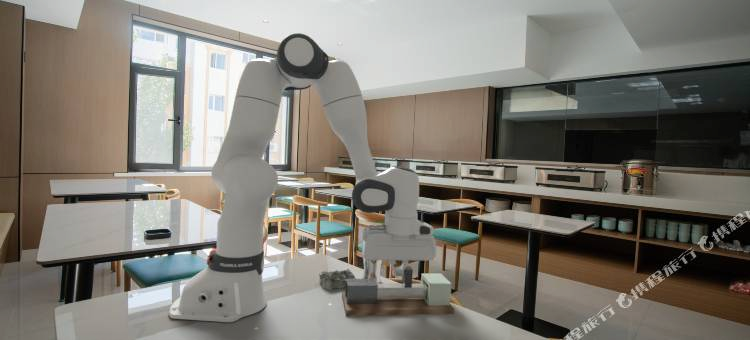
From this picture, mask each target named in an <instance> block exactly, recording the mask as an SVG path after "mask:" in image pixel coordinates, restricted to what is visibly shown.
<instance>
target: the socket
mask: <svg viewBox="0 0 750 340" xmlns="http://www.w3.org/2000/svg"><path fill="white" fill-rule="evenodd" d="M420 277H421V278H420V283H427V284H428V297H427V298H424V300H425V301H426V302H427V304H428V305H429V306H433V305H450V304H451V297H452V296H451V295H452V283H451V281H449V279H447V277H445V276H444V274H442V273H439V272H438V273H432V272H431V273H426V272H425V273H421V276H420Z"/></svg>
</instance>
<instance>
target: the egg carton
mask: <svg viewBox="0 0 750 340" xmlns="http://www.w3.org/2000/svg"><path fill="white" fill-rule="evenodd" d="M318 276H319V279H318V280H319V285H322V289H326V290H332V289H333V288H337V289H342V288H343V287H346V279H357V277H355V275H354V273H353V272H352V270H351V269H350V268H347V269H344V270H334V271H332V270H331V271H327V270H326V271H325V270H324V271H321V272H320V273H318Z"/></svg>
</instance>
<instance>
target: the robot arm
mask: <svg viewBox="0 0 750 340" xmlns="http://www.w3.org/2000/svg"><path fill="white" fill-rule="evenodd" d="M310 87H313V88H314V90H316V92H317V94H318V96H319V98H320V102H321V105H322V109H323V112H324V115H325V117H326V121H327V122H328V125H329V126H330V128H331V130H332V131H333V133H334V134H335V135H336V136H337V137H338V138H339V139H340V140H341V142H342V143H343V145H344V146H345V148H346V150H347V152H348V155H349V159H350V162H351V166H352V167H353V168H352V169H353V171H354V175H355V185H354V187H353V189H352V193H351V199H352V202H353V205H354V206H355V207H356V208H357V210H359V211H361V212H363V213H366V214H374V213H382V212H385V213H384V215H385V216H384V225H374V224H370V225H368V226H366V227H364V228H363V230H362V240H364V243H363V242H362V252H361V254H362V258H363V257H364V258H365V260H382V261H388V263H389V265H390V266H391V271H392V272H391V273H392V274H391V275H392V276H393V277H402V276H403V275H404V270H405V268H406V267H407V266H409V261H434V260H435V258H436V256H437V242H436V239H435V236H433V235H434V234H435V228H434V227H433V226H432V225H430V224H429V223H427V222H424V221H422V220H419V219H418V215H419V213H418V209H417V208H418V204H419V200H420V179H419V175H418V174H417V172H416V171H414V169H412V168H408V167H404V166H398V165H392V166H390V167H389V168H388V169H386V170H384V171H382V172H378V171H377V168H376V165H375V162H374V159H373V156H372V151H371V148H370V146H369V141H368V122H367V121H368V118H367V110H366V105H365V100H364V98H363V97H364V96H363V94H362V90H361V87H360V85H359V83H358V80H357V78H356V76H355V74H354V71H353V69H352V67H351V66H350V65H349V64H348V63H347V62H345V61H344V60H341V59H339V60H338V59H336V60H329V56H328V54H327V53H326V52H325V51H324V50H323V49H322V48H321V47H320V46H319V44H317V42H316V41H315V40H314V39H313V38H311V37H310V36H308V35H307V34H304V33H301V32H300V33H291V34H289V35H287V36H286V37H284V38H283V39H282V40H281V42H280V43H279V45H278V48H277V51H276V58H274V59H269V60H268V59H264V58H254V59H251V60H250V61H248V62H247V63H246V64H245V66H244V69H243V71H242V74H241V75H240V79H239V82H238V85H237V88H236V92H235V97H234V101H233V106H232V111H231V116H230V120H229V125H228V128H227V132H226V133H225V134H226V135H225V137H224V140H223V143H222V144H221V147H220V150H219V153H218V155H217V158H216V161H215V163H213V166H212V167H211V168H212V169H211V178H212V181H213V183H214V184H215V185H214V186H215V187H216V188H217V189H218V190H219V191H221V193H224V194H225V195H224V201H223V207H222V211H221V213H220V217H219V219H218V220H217V227H216V229H217V231H216V248H212V249H211V250H210V252H209V254H208V256H207V258H206V264H207V266H206V267H205V268H203V269H202V270H200V272H198V273H197V274H195V275H193V276H192V277H191V278H190V279H189V280H188V281H187V282H186V284H185V285H184V286H183V289H182V291H181V294H180V296H179V297H178V298H177V299H175V301H173V302H172V304H171V306H170V307H169V313H168V314H169V315H168V316H169V317H170V318H171V319H174V320H176V319H177V320H191V321H202V322H203V321H204V322H221V323H233V322H236V321H238V320H240V319H242V318H244V317H247V316H251V315H253V314H256V313H259V312H260V311H262V310H263V309H265V307H266V305H267V299H266V295H265V291H264V285H263V284H264V283H263V271H264V270H265V269H264V267H265V266H264V265H265V254H264V253H265V252H264V250H263V241H264V240H263V239H264V223H265V217H266V214H267V211H268V206H269V203H270V200H271V197H272V196H273V194H275V192H276V190H277V188H278V185H279V184H278V183H279V177H278V173H277V171H276V169H275V167H274V166H273V165H271V164H270V163H269V162H268V161H266V160H265V159H263V157H264V154H265V152H266V150H267V148H268V146H269V144H270V143H271V142H272V140H273V139H274V136H275V132H276V128H277V127H276V126H277V124H278V123H277V122H278V118H279V113H280V107H281V102H282V98H283V94H284V91H302V90H303V91H304V90H306V89H309V88H310ZM396 261H401V263H402V264H401V265H400V267H395V265H396Z"/></svg>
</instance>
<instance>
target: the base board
mask: <svg viewBox="0 0 750 340" xmlns="http://www.w3.org/2000/svg"><path fill="white" fill-rule="evenodd" d="M341 298H342V303H343V309H344V314H345V316H346V317H356V316H357V317H362V316H366V317H367V316H408V315H409V316H410V315H411V316H413V315H414V316H415V315H423V316H425V315H454V314H455V307H454V306H453V305H452V304H451V303H450V305H433V306H429V305H428V304H427V302H426V301H425V300H424V298H393V299H377V304H347V303H346V298H345V291H341Z"/></svg>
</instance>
